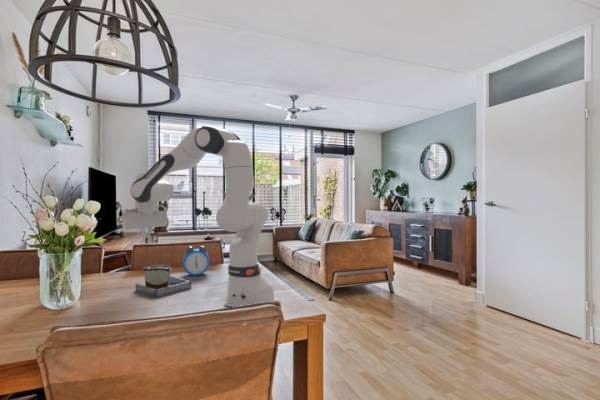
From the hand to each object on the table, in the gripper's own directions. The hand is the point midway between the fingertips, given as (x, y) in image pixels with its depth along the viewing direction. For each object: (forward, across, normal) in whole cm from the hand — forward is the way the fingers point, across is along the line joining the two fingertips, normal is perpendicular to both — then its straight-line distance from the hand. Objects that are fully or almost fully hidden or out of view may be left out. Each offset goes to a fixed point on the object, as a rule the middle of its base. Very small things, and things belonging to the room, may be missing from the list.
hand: (146, 237), depth 149 cm
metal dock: (+22, 0, -15) cm, 26 cm away
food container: (+22, 0, -11) cm, 25 cm away
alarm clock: (+22, +24, -5) cm, 33 cm away
